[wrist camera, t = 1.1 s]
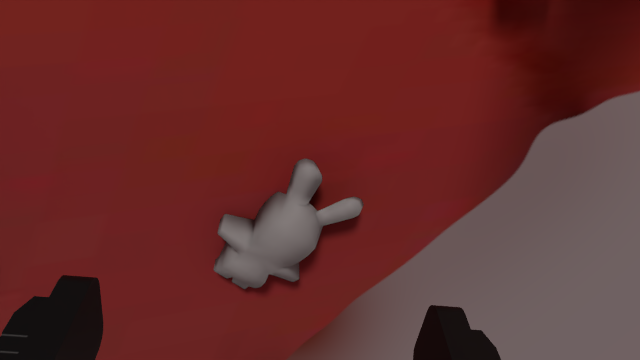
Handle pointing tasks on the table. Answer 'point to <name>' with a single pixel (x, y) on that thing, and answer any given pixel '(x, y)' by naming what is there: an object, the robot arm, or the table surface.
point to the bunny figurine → (279, 231)
